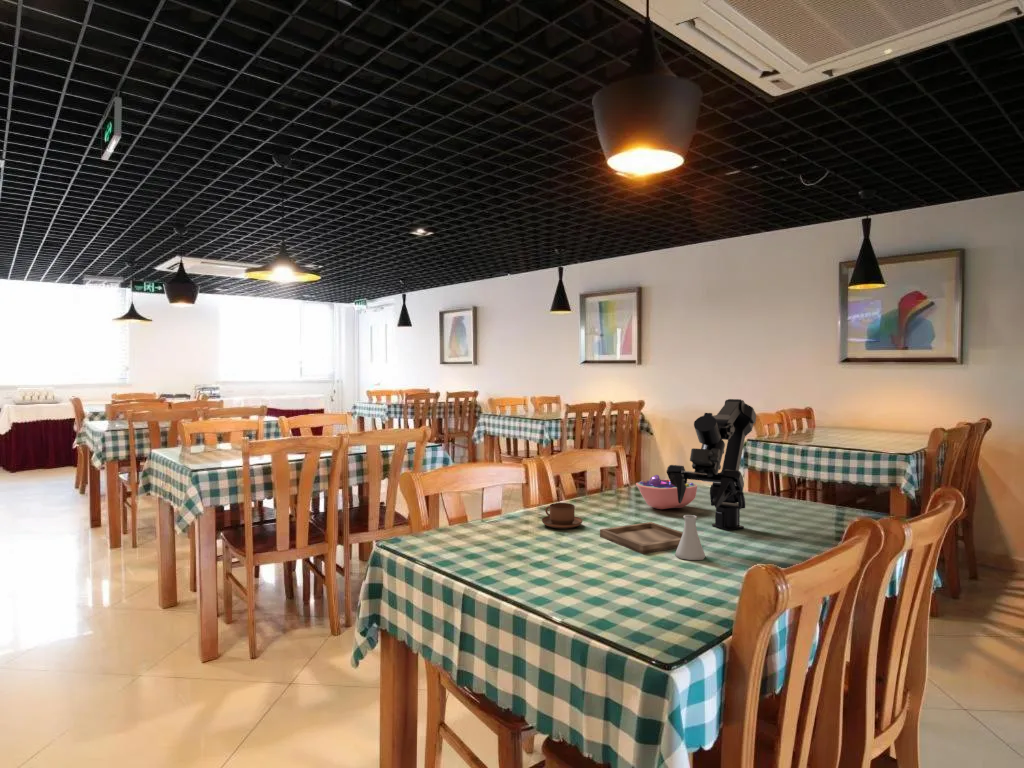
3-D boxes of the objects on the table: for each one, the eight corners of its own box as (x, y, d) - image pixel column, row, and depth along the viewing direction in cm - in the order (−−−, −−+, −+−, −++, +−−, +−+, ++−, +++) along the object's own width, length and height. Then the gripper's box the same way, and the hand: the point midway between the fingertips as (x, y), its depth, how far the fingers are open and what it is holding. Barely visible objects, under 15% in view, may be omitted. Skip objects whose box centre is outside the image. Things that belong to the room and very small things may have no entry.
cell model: (704, 514, 192) (704, 479, 192) (641, 514, 192) (641, 479, 192) (689, 503, 209) (689, 470, 209) (631, 503, 209) (632, 470, 209)
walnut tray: (651, 528, 174) (651, 521, 174) (696, 544, 158) (696, 536, 158) (600, 536, 166) (600, 529, 166) (642, 554, 150) (642, 546, 150)
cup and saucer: (536, 529, 175) (536, 508, 175) (549, 519, 186) (549, 500, 186) (576, 533, 170) (576, 511, 170) (587, 523, 181) (587, 503, 181)
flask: (707, 562, 144) (707, 520, 144) (675, 560, 145) (675, 519, 145) (703, 553, 151) (703, 513, 151) (673, 551, 152) (674, 512, 152)
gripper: (669, 434, 162) (653, 481, 153) (741, 438, 151) (729, 489, 142) (678, 460, 168) (664, 507, 159) (748, 466, 158) (737, 516, 149)
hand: (697, 504), depth 152 cm, fingers open, 9 cm apart
